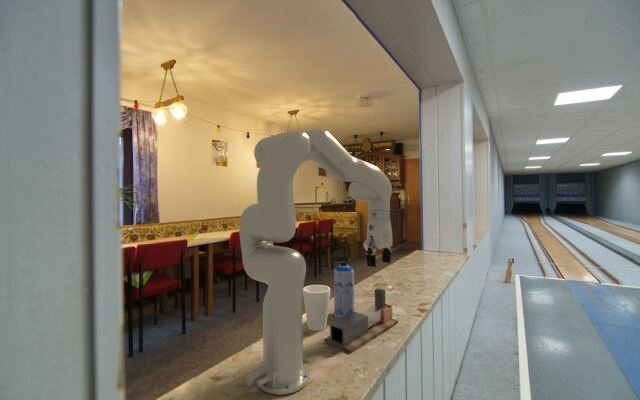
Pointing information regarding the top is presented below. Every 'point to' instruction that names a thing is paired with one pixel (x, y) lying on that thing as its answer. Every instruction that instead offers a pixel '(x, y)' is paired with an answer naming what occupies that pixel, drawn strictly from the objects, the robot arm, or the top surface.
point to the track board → (365, 336)
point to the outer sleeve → (348, 328)
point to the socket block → (387, 313)
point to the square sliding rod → (376, 308)
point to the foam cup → (316, 306)
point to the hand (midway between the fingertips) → (379, 264)
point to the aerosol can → (343, 290)
